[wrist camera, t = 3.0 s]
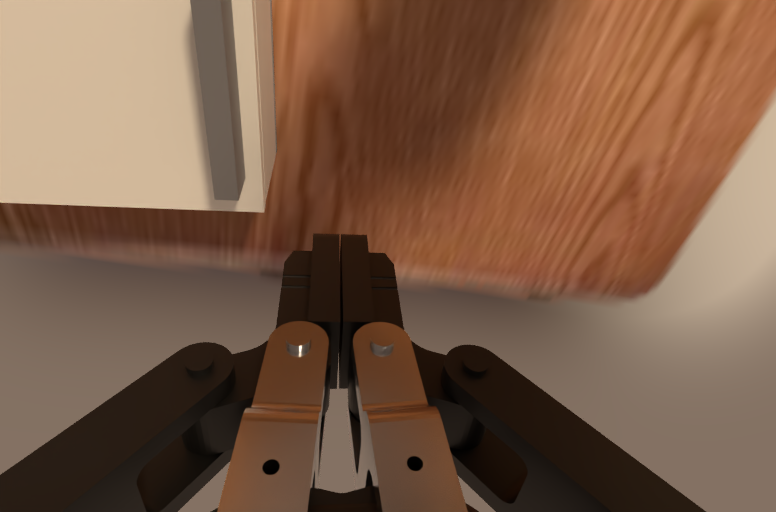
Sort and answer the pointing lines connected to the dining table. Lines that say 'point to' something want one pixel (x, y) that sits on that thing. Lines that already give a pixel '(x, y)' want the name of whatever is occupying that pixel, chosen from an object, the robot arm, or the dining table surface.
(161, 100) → the lid
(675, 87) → the dining table surface
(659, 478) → the robot arm
